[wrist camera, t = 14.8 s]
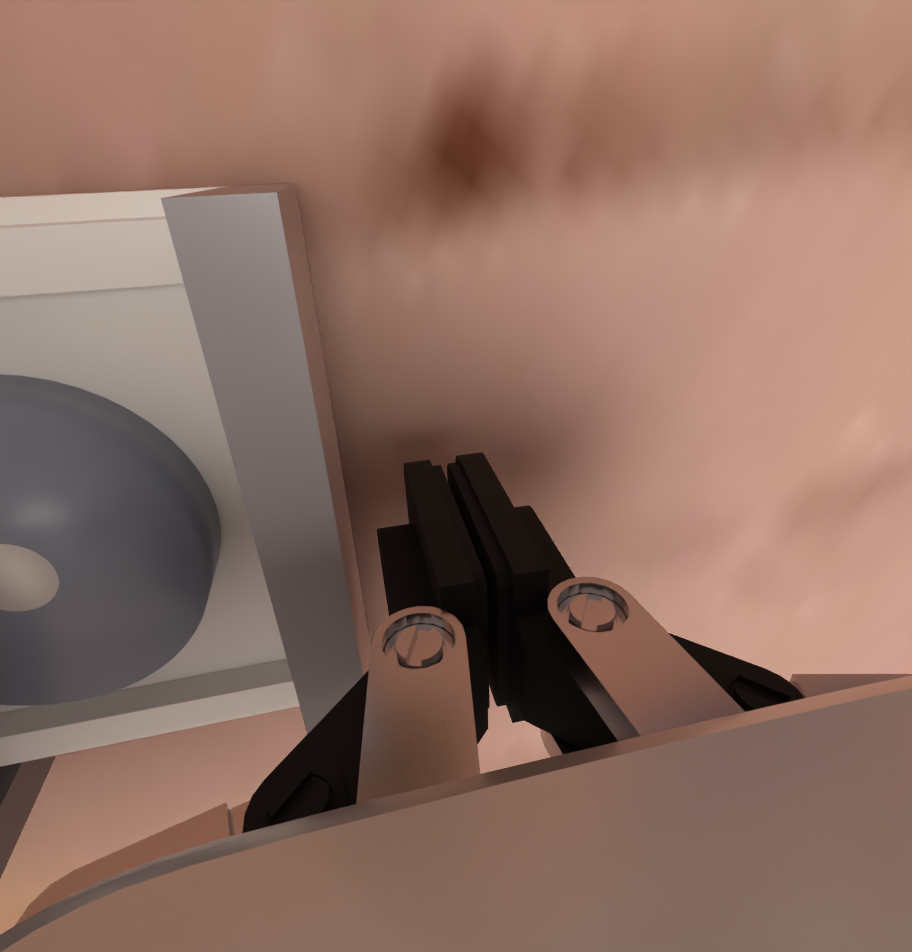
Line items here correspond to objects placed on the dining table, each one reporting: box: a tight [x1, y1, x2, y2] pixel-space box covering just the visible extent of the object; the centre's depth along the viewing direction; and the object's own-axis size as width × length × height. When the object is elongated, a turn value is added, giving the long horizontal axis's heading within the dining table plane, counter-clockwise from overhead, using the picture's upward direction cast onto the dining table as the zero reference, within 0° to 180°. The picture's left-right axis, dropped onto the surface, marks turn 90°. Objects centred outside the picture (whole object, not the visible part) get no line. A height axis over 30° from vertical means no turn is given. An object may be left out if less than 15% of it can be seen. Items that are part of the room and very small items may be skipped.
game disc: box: [0, 374, 221, 706], centre depth 11 cm, size 7×7×2 cm
